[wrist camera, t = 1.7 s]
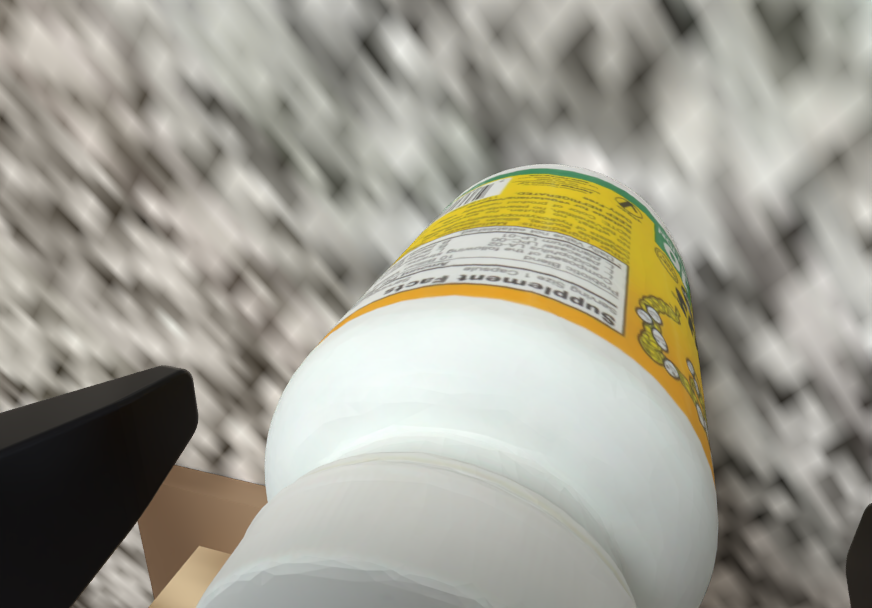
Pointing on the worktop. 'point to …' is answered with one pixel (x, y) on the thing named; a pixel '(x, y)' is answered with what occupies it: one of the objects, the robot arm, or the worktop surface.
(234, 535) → the socket
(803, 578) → the worktop surface
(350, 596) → the supplement bottle
